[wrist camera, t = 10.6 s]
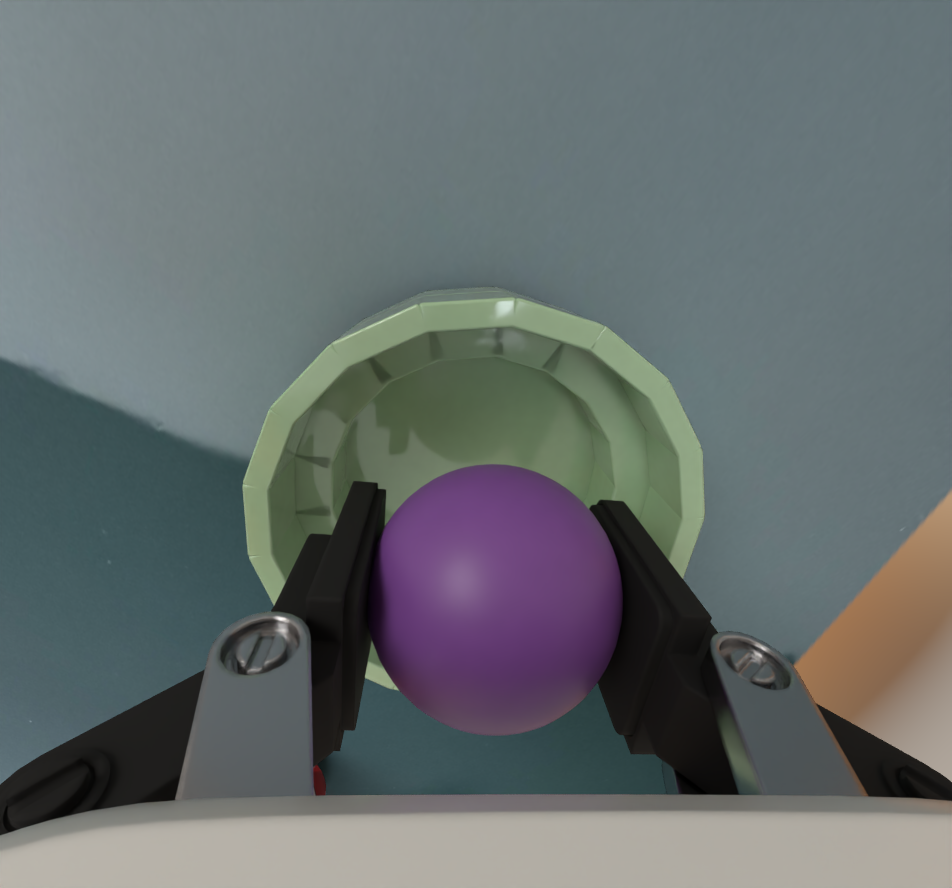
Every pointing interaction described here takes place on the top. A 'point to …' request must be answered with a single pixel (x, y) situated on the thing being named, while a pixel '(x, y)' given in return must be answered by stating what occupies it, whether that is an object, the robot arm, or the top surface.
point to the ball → (494, 599)
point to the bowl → (471, 422)
